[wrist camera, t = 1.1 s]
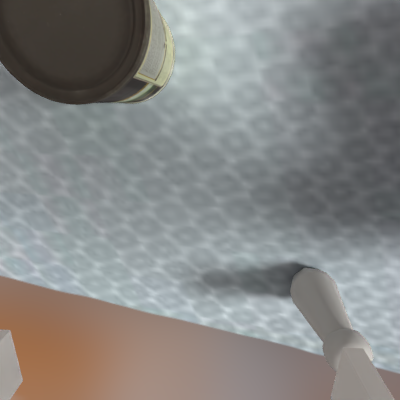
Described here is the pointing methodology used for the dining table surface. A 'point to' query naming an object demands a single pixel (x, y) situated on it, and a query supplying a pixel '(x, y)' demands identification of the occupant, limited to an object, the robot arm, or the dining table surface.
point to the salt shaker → (326, 314)
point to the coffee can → (87, 49)
